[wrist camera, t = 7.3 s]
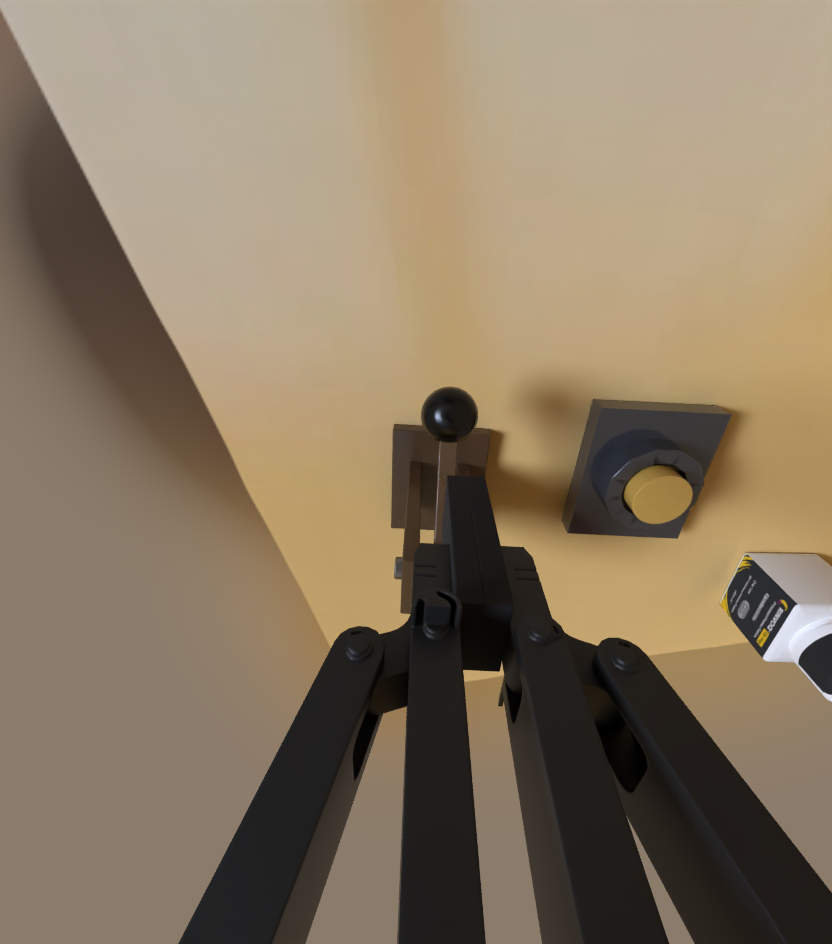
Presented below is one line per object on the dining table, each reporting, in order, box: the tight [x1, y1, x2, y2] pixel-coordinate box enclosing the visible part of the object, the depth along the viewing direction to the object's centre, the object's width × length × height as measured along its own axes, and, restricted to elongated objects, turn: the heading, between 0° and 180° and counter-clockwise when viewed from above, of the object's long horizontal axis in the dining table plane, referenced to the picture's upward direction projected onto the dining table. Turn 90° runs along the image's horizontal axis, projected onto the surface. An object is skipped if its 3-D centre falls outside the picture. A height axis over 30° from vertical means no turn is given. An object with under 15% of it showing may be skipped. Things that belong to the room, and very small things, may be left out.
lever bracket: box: [391, 424, 490, 614], centre depth 32 cm, size 10×8×14 cm
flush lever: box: [421, 387, 478, 544], centre depth 27 cm, size 13×4×4 cm, turn 178°
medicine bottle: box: [720, 553, 832, 702], centre depth 37 cm, size 7×7×12 cm
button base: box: [562, 399, 732, 538], centre depth 35 cm, size 12×10×4 cm
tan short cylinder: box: [624, 465, 693, 524], centre depth 33 cm, size 4×4×2 cm
